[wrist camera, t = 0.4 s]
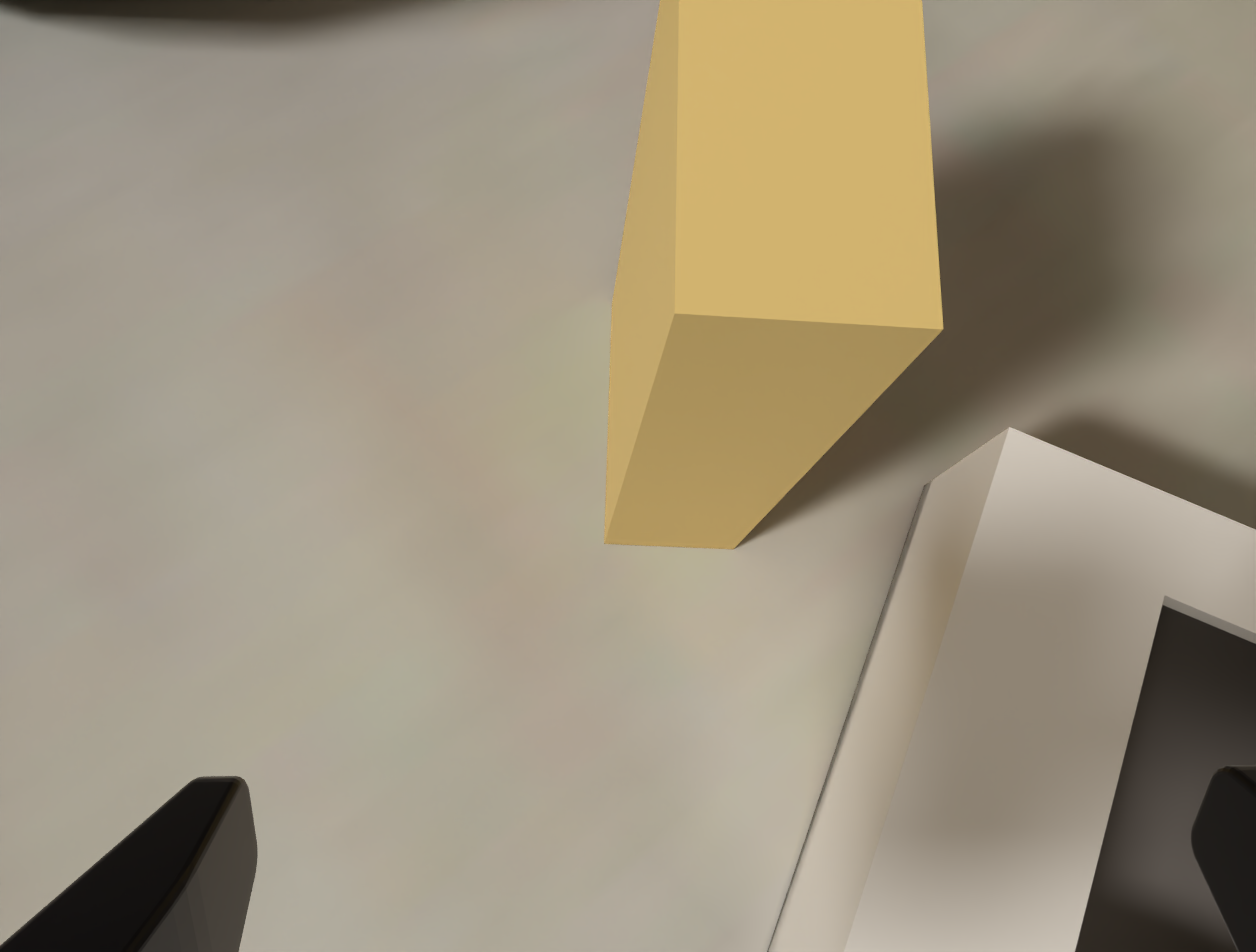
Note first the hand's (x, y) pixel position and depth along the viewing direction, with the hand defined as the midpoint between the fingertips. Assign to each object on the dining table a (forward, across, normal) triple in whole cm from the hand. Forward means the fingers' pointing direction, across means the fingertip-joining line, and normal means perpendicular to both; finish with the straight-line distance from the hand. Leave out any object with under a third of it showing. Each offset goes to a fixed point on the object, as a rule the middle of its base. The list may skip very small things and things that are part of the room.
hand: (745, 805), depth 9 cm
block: (+15, -1, +2) cm, 15 cm away
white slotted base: (+9, -10, +9) cm, 17 cm away
